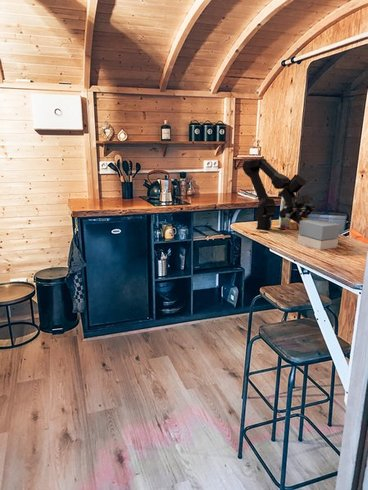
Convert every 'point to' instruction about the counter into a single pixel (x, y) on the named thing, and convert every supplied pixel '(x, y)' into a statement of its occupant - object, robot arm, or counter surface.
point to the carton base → (317, 242)
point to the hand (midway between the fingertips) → (305, 226)
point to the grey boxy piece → (318, 229)
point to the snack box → (284, 221)
